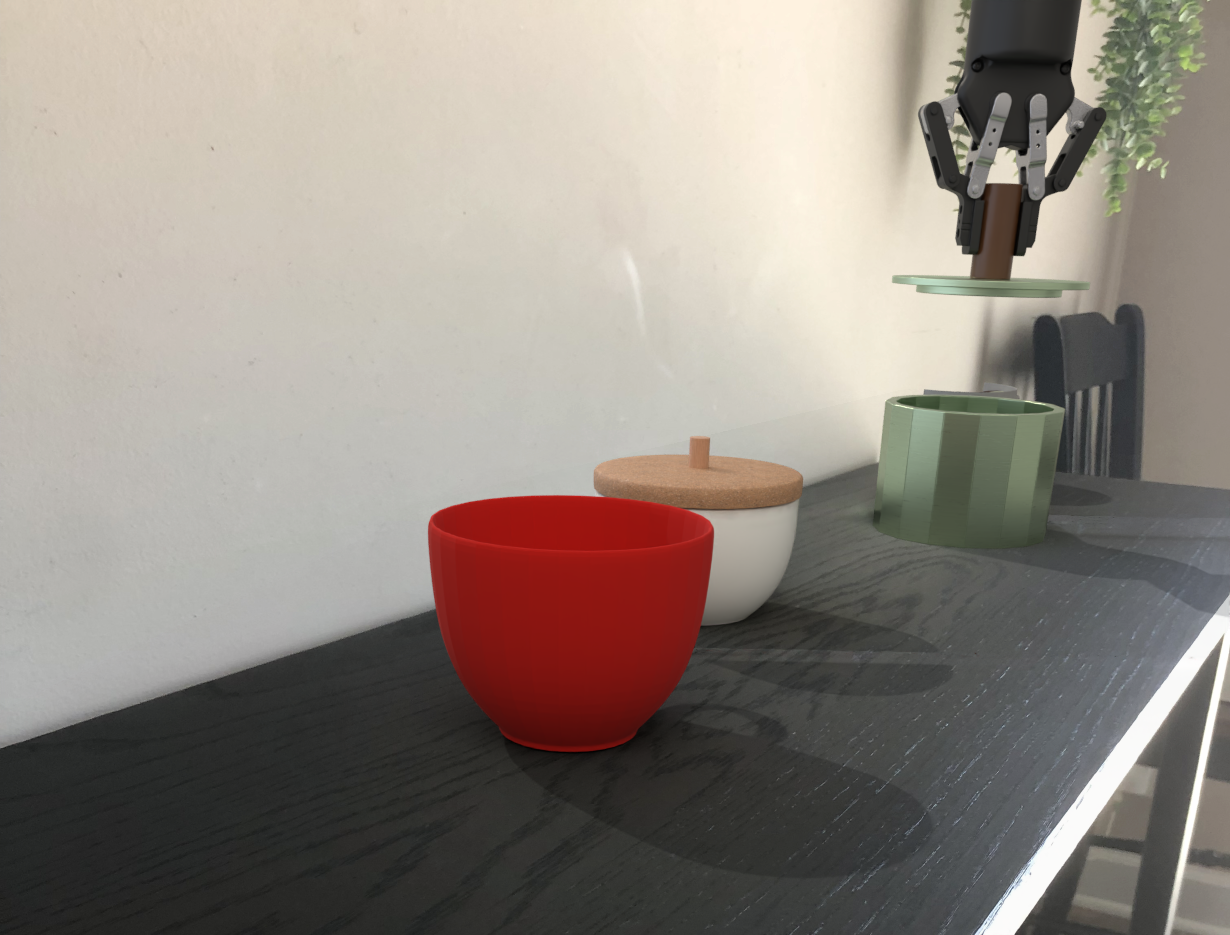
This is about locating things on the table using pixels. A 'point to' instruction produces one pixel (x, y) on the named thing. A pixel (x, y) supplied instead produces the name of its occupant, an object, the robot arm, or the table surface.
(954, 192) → the robot arm
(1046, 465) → the tin
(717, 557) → the lidded bowl
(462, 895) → the table surface
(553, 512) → the ceramic cup
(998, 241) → the lid
